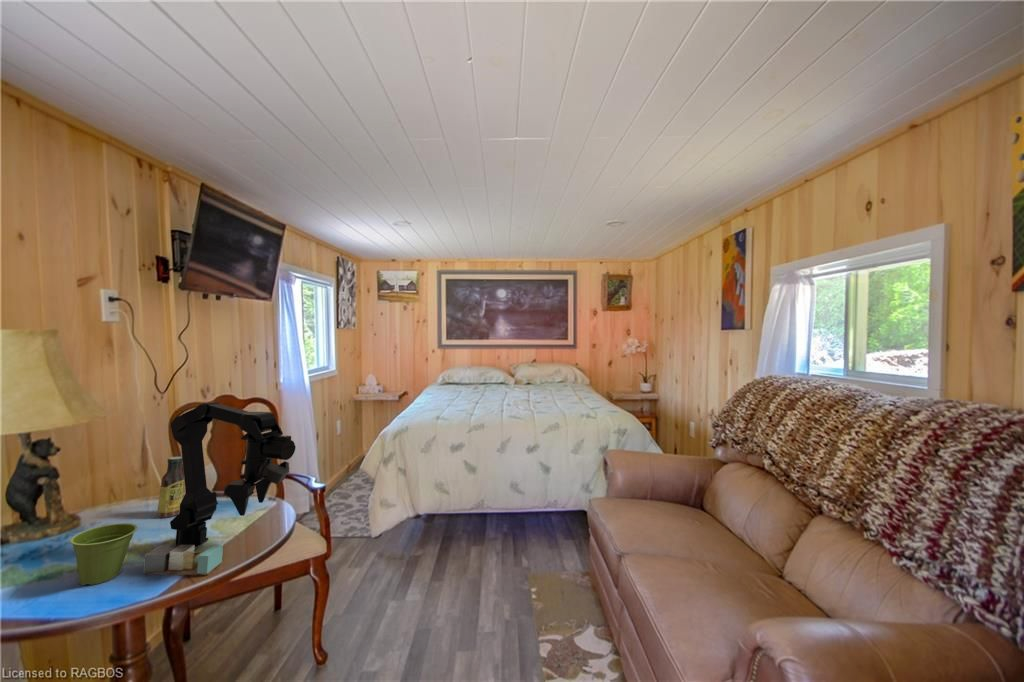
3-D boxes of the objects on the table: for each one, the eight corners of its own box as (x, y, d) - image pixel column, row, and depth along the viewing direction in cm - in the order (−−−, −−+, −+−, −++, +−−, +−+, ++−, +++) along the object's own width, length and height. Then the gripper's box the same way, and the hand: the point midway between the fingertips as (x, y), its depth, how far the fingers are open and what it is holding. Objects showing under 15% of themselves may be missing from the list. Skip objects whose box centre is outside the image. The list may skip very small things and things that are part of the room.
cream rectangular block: (147, 569, 100) (148, 551, 100) (159, 561, 103) (161, 544, 103) (190, 570, 100) (192, 552, 100) (201, 562, 104) (203, 545, 104)
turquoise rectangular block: (197, 573, 99) (198, 555, 100) (212, 561, 105) (213, 545, 105) (206, 573, 100) (208, 555, 100) (221, 561, 105) (223, 545, 105)
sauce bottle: (169, 519, 129) (174, 461, 130) (151, 518, 130) (157, 460, 130) (186, 511, 136) (191, 456, 137) (169, 510, 136) (174, 455, 137)
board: (144, 574, 99) (144, 571, 99) (160, 563, 104) (160, 561, 104) (207, 575, 100) (207, 572, 100) (220, 564, 105) (221, 562, 105)
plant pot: (89, 595, 90) (94, 547, 90) (51, 587, 92) (56, 540, 92) (145, 568, 101) (149, 526, 102) (110, 561, 103) (114, 520, 104)
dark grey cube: (143, 572, 99) (145, 554, 99) (161, 560, 104) (162, 544, 104) (163, 572, 99) (165, 555, 99) (180, 561, 104) (181, 544, 105)
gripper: (268, 466, 103) (262, 524, 103) (300, 449, 122) (295, 497, 121) (225, 464, 102) (219, 522, 102) (264, 447, 121) (259, 496, 120)
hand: (252, 508), depth 111 cm, fingers open, 9 cm apart
